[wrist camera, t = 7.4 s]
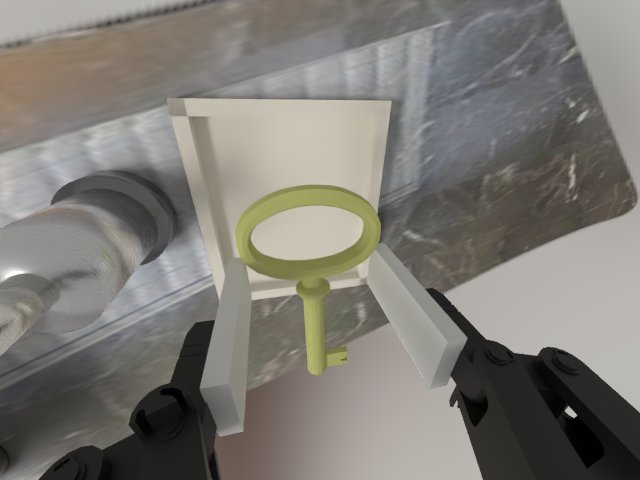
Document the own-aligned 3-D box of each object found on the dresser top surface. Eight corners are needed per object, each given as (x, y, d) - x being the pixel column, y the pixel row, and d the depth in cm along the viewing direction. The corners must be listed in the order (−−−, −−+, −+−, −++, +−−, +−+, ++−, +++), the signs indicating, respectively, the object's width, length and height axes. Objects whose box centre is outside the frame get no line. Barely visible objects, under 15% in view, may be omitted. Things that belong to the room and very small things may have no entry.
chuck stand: (95, 258, 20) (-83, 418, 10) (50, 173, 17) (-301, 281, 6) (186, 249, 21) (115, 383, 11) (161, 168, 18) (22, 253, 7)
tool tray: (222, 293, 24) (220, 304, 23) (173, 98, 16) (165, 98, 15) (363, 275, 27) (368, 284, 26) (383, 101, 19) (391, 100, 17)
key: (308, 354, 18) (312, 382, 16) (219, 210, 11) (210, 229, 10) (398, 318, 18) (414, 342, 16) (359, 154, 11) (376, 163, 10)
